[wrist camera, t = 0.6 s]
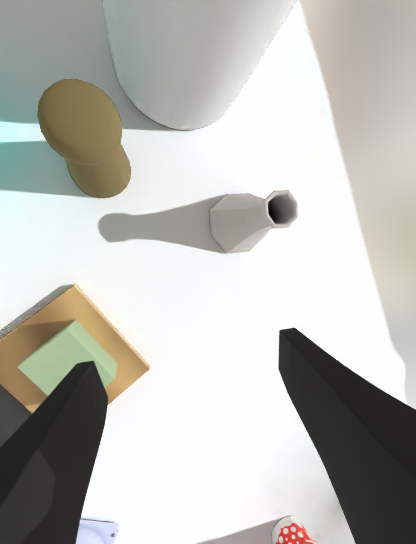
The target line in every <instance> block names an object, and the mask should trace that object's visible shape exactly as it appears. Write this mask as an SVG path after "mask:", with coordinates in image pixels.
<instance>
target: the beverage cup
mask: <svg viewBox="0 0 416 544" xmlns="http://www.w3.org/2000/svg"><path fill="white" fill-rule="evenodd" d="M272 542H273V544H315V543H314V541H313V540H312V538H311V537H310V535H309V534H308V532H307V531H306V530H305V528H304V527H303V525H302V524H301V522H300V521H299V519H297V518H296V517H295V516H287V517H284V518H282V519H281V520H280V521H278V523H277V524H276V525H275V527H274V529H273V532H272Z"/></svg>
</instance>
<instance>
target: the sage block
mask: <svg viewBox="0 0 416 544" xmlns="http://www.w3.org/2000/svg"><path fill="white" fill-rule="evenodd" d="M93 360H94V363H95V365H96V368H97V370H98V373H99V375H100V378H101V380H102V383H103V385H104V388H105V387H106V386H107V385H108V384H109V383H110V382H112V381H113V380H114V379H115V376H116V370H117V365H118V363H117V362H116V361H115V360H114V359H113V358H112V357H111V356H110V355H109V354H108V353H107V352H106V351H105V350H104V348H103V347H102V346H101V345H100V344H99V343H98V342H97V341H96V340H95V339H94V338H93V337H92V336H91V335H90V334H89V333H88V331H87V330H86V329H85V328H84V327H83V326H82V325H81V324H80V323H79V322H78V321H77V320H74V321H73V322H72V323H70V324H69V325H68V326H66V327H65V328H64V329H63V330H61V331H60V332H59V333H57V334H56V335H55V336H53V337H52V338H51V339H50V340H48V341H47V342H46V343H44V344H43V345H42V346H40V347H39V348H38V349H37V350H35V351H34V352H33V353H32V354H31V355H29V356H28V357H27V358H26V359H25V360H24V361H23V362H22V363H21V364H20V365H19V366H18V367H17V368H18V369H19V370H20V371H22V372H23V373H24V374H25V375H26V376H27V377H28V378H29V379H30V380H31V381H32V382H33V383H34V384H35V385H36V386H37V387H39V388H40V389H41V390H42V391H43V392H44V393H45V394H46V395H47V396H48V395H49V394H50V393H51V392H52V391H53V390H54V389H55V388H56V386H57V385H58V384H59V383H60V382H61V381H62V379H63V378H64V377H65V376H66V375H67V374H68V373H69V371H70V370H71V369H72V368H73V367H74V366H75V365H76V364H77V363H81V362H87V361H93Z"/></svg>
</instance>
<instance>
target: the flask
mask: <svg viewBox="0 0 416 544" xmlns="http://www.w3.org/2000/svg"><path fill="white" fill-rule="evenodd" d="M209 214H210V225H211V235H212V236H213V238H214V239H215V240H216V241H217V242H218V243H219V245H220V246H221V247H222V248H223V249H224V250H225V252H226V253H235V252H245V251H250V250H251V249H252V248H253V247H254V246H255V245H256V244H257V243H258V242H259V241H260V240H261V239H262V238H263V237H264V236H265V235H266V234H267V232H268V231H269V230H270V229H272V228H286V227H289V226H290V225H291V224H292V223H293V222H294V221H295V220H296V219H297V218H298V208H297V201H296V200H295V199H294V197H293V196H292V194H291V193H290V192H289V190H283V191H273V192H272V193H271V194H270V195H269V196H268V197H267V198H266V199H263V198H259V197H257V196H254V195H252V194H226V195H225V196H224V197H223V198H222V199H221V200H220V201H219V202H218V203H217V204H215V205H214V206H213V207H212V208H211V209H210V210H209Z"/></svg>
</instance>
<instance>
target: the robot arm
mask: <svg viewBox="0 0 416 544" xmlns="http://www.w3.org/2000/svg"><path fill="white" fill-rule="evenodd" d="M279 371H280V374H281V376H282V379H283V382H284V384H285V387H286V390H287V392H288V394H289V396H290V398H291V400H292V402H293V404H294V406H295V408H296V410H297V412H298V414H299V416H300V418H301V420H302V422H303V424H304V426H305V428H306V430H307V432H308V434H309V436H310V438H311V440H312V442H313V444H314V445H315V447H316V449H317V451H318V453H319V455H320V458H321V460H322V462H323V464H324V466H325V468H326V471H327V473H328V476H329V478H330V481H331V483H332V485H333V488H334V490H335V493H336V495H337V497H338V500H339V502H340V505H341V507H342V510H343V513H344V515H345V518H346V520H347V523H348V525H349V528H350V530H351V533H352V535H353V538H354V540H355V543H356V544H416V410H415V409H413V408H411V407H410V406H408V405H406V404H404V403H403V402H401V401H399V400H398V399H396V398H394V397H392V396H391V395H389V394H387V393H385V392H384V391H382V390H381V389H379V388H377V387H376V386H374V385H373V384H371V383H370V382H368V381H366V380H365V379H363V378H362V377H360V376H359V375H357V374H356V373H354V372H353V371H351V370H350V369H349V368H347V367H346V366H344V365H343V364H342V363H340V362H339V361H337V360H336V359H335V358H333V357H332V356H331V355H329V354H328V353H327V352H325V351H324V350H323V349H321V348H320V347H319V346H317V345H316V344H315V343H314V342H312V341H311V340H310V339H308V338H307V337H306V336H305V335H303V334H302V333H301V332H299V331H298V330H297V329H296V328H290V329H284V330H280V333H279ZM107 405H108V395H107V393H106V390H105V388H104V385H103V383H102V380H101V378H100V375H99V373H98V370H97V368H96V365H95V363H94V360H93V361H87V362H81V363H77V364H76V365H75V366H74V367H73V368H72V369H71V370H70V371H69V373H68V374H67V375H66V376H65V377H64V378H63V379H62V381H61V382H60V383H59V384H58V385H57V386H56V388H55V389H54V390H53V391H52V392H51V393H50V394H49V395H48V397H47V398H46V399H45V400H44V401H43V402H42V403H41V404H40V406H39V407H38V408H37V409H36V410H35V411H34V412H33V413H32V415H31V416H30V417H29V418H28V419H27V420H26V421H25V422H24V423H23V424H22V425H21V426H20V427H19V428H18V429H17V430H16V431H15V432H14V433H13V435H12V436H11V437H10V438H9V439H8V440H7V441H6V442H5V443H4V444H3V445H2V446H1V447H0V544H113V543H114V540H115V538H116V535H117V533H118V529H119V525H118V524H117V523H109V522H100V521H90V520H81V519H80V518H81V513H82V509H83V505H84V500H85V496H86V493H87V489H88V485H89V482H90V478H91V474H92V471H93V467H94V463H95V459H96V456H97V452H98V448H99V445H100V441H101V437H102V433H103V429H104V425H105V419H106V412H107ZM111 533H113V534H111Z"/></svg>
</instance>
